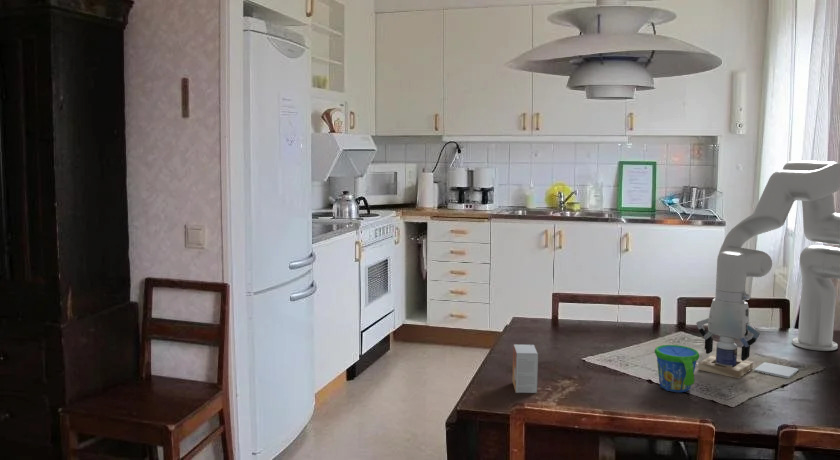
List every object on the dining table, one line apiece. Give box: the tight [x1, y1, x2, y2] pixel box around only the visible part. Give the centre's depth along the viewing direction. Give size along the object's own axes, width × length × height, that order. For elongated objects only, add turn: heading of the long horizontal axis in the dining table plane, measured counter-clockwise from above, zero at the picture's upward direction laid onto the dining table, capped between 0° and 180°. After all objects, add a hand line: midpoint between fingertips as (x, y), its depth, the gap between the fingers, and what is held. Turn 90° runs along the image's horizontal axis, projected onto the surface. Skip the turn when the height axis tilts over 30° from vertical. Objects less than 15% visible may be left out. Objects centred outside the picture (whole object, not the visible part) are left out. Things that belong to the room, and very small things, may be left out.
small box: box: [511, 343, 539, 394], centre depth 189 cm, size 8×6×10 cm
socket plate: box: [698, 353, 754, 379], centre depth 205 cm, size 11×11×2 cm
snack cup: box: [654, 344, 700, 393], centre depth 189 cm, size 16×11×10 cm
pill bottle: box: [715, 336, 738, 367], centre depth 205 cm, size 5×5×10 cm
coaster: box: [753, 361, 800, 379], centre depth 204 cm, size 9×9×1 cm
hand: (726, 356), depth 205 cm, fingers open, 9 cm apart
